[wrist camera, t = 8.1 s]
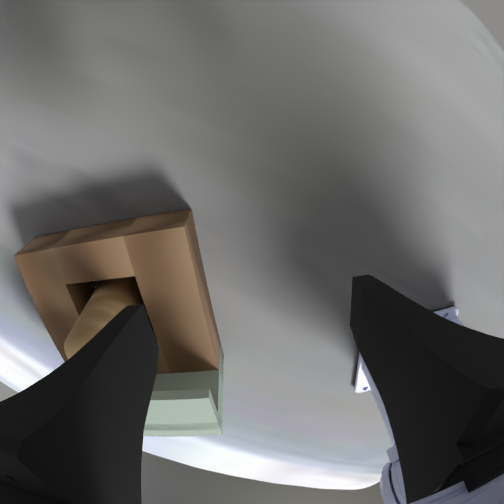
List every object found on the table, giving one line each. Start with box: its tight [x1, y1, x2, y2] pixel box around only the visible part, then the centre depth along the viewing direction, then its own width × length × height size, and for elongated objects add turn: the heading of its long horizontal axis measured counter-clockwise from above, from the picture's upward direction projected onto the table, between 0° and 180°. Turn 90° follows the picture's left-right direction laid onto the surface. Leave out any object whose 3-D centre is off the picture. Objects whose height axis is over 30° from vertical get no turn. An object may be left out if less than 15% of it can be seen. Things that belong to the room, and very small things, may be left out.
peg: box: [64, 276, 145, 359], centre depth 18 cm, size 4×4×7 cm
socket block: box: [14, 209, 224, 374], centre depth 21 cm, size 12×12×3 cm
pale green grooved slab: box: [143, 344, 224, 436], centre depth 20 cm, size 12×4×8 cm, turn 97°
